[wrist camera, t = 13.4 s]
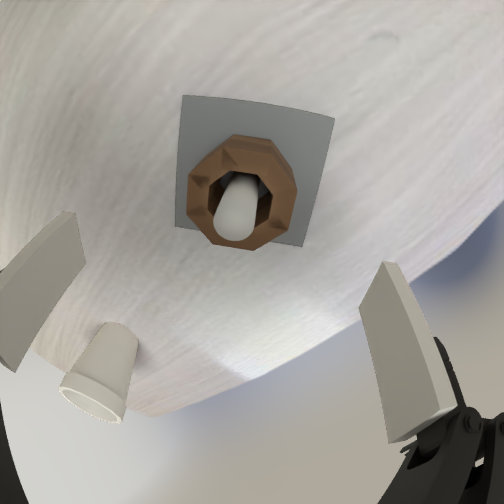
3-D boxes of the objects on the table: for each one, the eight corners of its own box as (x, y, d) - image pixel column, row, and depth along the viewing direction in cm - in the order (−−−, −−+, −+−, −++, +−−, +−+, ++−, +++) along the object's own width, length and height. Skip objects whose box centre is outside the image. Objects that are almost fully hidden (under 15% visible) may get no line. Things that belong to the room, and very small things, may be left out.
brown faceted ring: (201, 209, 23) (185, 239, 19) (208, 131, 19) (190, 143, 15) (280, 222, 23) (281, 255, 19) (297, 144, 19) (304, 160, 15)
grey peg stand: (177, 222, 26) (138, 287, 18) (185, 95, 19) (130, 102, 11) (301, 242, 26) (312, 316, 18) (332, 117, 19) (373, 137, 11)
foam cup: (84, 323, 37) (50, 387, 26) (113, 306, 33) (73, 384, 22) (126, 358, 41) (101, 422, 30) (159, 348, 37) (135, 424, 27)
